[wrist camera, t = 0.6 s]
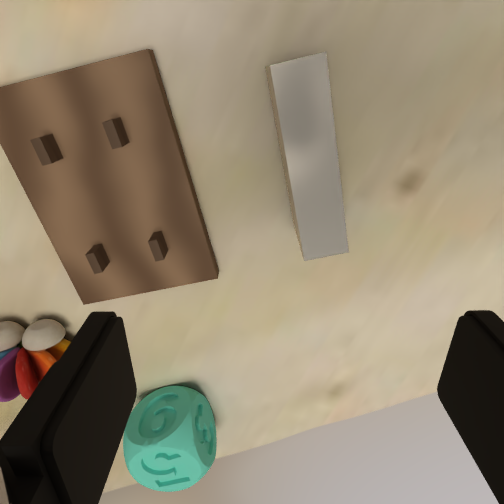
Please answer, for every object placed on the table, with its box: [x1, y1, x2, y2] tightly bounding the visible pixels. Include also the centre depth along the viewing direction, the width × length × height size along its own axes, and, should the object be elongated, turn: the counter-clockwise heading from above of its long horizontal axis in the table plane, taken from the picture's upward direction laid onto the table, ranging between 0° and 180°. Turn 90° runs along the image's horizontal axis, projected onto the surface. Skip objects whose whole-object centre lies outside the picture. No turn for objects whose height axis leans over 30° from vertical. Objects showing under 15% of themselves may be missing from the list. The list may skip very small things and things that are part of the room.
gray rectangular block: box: [265, 52, 349, 261], centre depth 28 cm, size 4×14×7 cm, turn 12°
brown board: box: [0, 49, 219, 305], centre depth 31 cm, size 14×20×4 cm
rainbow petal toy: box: [0, 319, 71, 402], centre depth 38 cm, size 8×10×7 cm
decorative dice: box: [123, 386, 216, 492], centre depth 42 cm, size 8×8×8 cm
